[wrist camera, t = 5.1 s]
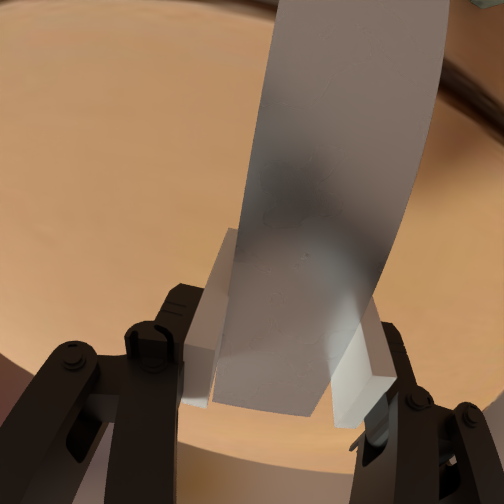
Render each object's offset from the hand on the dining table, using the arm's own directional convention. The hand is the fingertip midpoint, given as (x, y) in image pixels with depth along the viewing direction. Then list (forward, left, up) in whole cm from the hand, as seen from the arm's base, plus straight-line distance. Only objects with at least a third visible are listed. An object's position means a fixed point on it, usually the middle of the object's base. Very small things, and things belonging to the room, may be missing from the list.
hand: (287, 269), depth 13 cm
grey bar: (0, +8, -1) cm, 8 cm away
